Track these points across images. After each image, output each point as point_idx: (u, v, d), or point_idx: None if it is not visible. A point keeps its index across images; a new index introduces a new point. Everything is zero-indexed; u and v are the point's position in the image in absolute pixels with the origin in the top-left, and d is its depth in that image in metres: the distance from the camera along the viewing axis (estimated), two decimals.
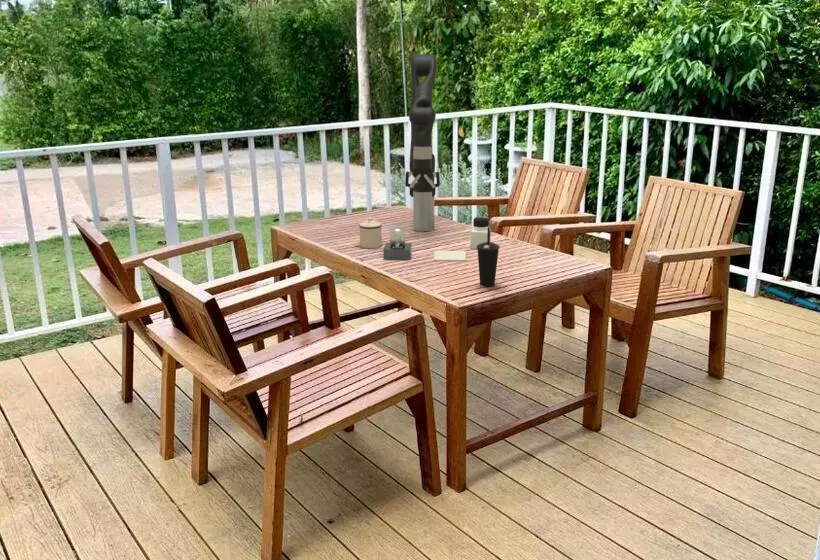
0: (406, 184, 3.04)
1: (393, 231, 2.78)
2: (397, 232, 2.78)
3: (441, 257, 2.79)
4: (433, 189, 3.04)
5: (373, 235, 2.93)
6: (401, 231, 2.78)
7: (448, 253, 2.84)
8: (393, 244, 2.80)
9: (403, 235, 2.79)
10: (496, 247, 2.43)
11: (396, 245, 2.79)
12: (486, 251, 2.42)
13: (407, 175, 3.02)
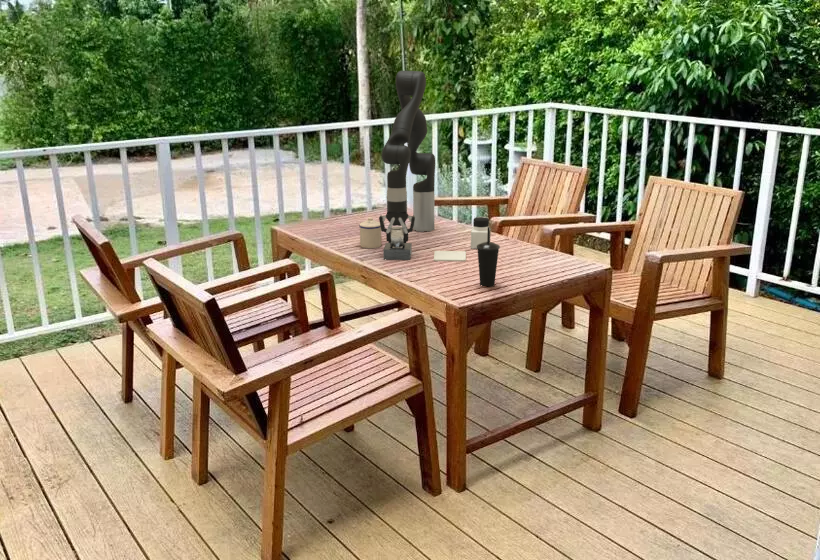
0: (382, 229, 2.79)
1: (393, 231, 2.78)
2: (397, 232, 2.78)
3: (441, 257, 2.79)
4: (405, 235, 2.79)
5: (373, 235, 2.93)
6: (401, 231, 2.78)
7: (448, 253, 2.84)
8: (393, 244, 2.80)
9: (403, 235, 2.79)
10: (496, 247, 2.43)
11: (396, 245, 2.79)
12: (486, 251, 2.42)
13: (381, 220, 2.78)
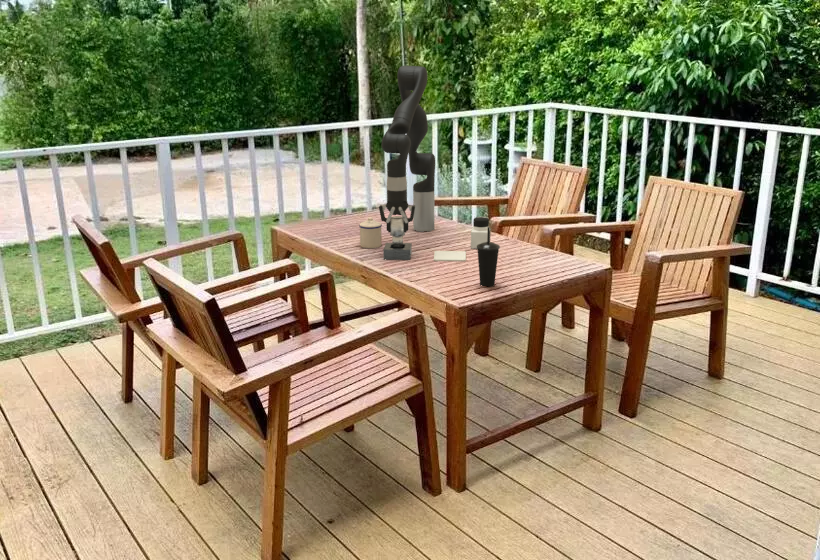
0: (382, 219, 2.78)
1: (393, 220, 2.77)
2: (397, 221, 2.77)
3: (441, 257, 2.79)
4: (406, 224, 2.79)
5: (373, 235, 2.93)
6: (401, 220, 2.77)
7: (448, 253, 2.84)
8: (393, 234, 2.79)
9: (403, 224, 2.78)
10: (496, 247, 2.43)
11: (396, 234, 2.78)
12: (486, 251, 2.42)
13: (381, 209, 2.77)
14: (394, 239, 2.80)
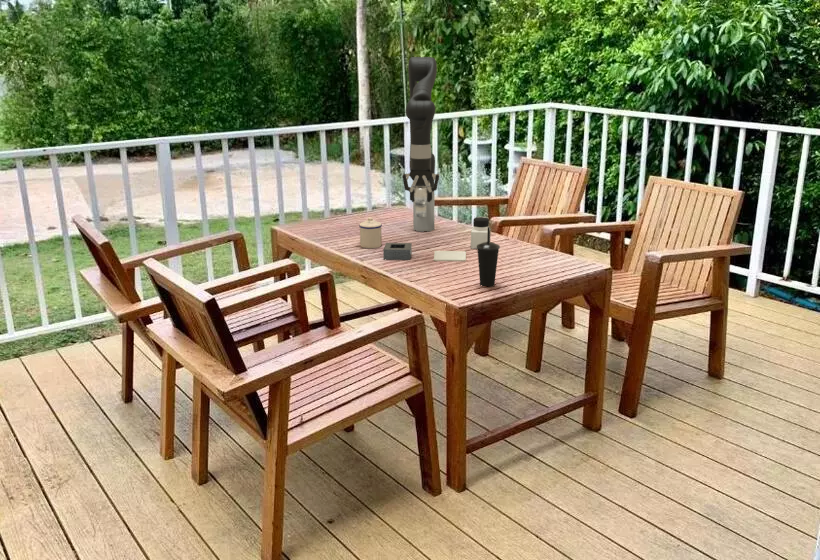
0: (406, 188, 2.74)
1: (416, 189, 2.72)
2: (420, 190, 2.72)
3: (441, 257, 2.79)
4: (429, 193, 2.74)
5: (373, 235, 2.93)
6: (425, 189, 2.73)
7: (448, 253, 2.84)
8: (416, 203, 2.74)
9: (427, 194, 2.74)
10: (496, 247, 2.43)
11: (419, 204, 2.74)
12: (486, 251, 2.42)
13: (404, 178, 2.73)
14: (417, 209, 2.76)
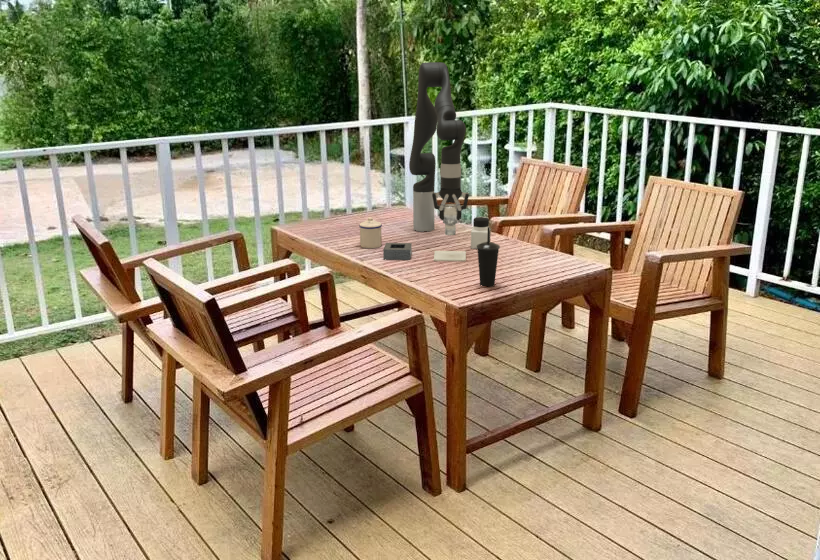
0: (435, 206, 2.75)
1: (446, 208, 2.74)
2: (451, 209, 2.74)
3: (441, 257, 2.79)
4: (459, 212, 2.75)
5: (373, 235, 2.93)
6: (455, 208, 2.74)
7: (448, 253, 2.84)
8: (446, 221, 2.75)
9: (456, 212, 2.75)
10: (496, 247, 2.43)
11: (449, 222, 2.75)
12: (486, 251, 2.42)
13: (434, 197, 2.74)
14: (447, 227, 2.77)
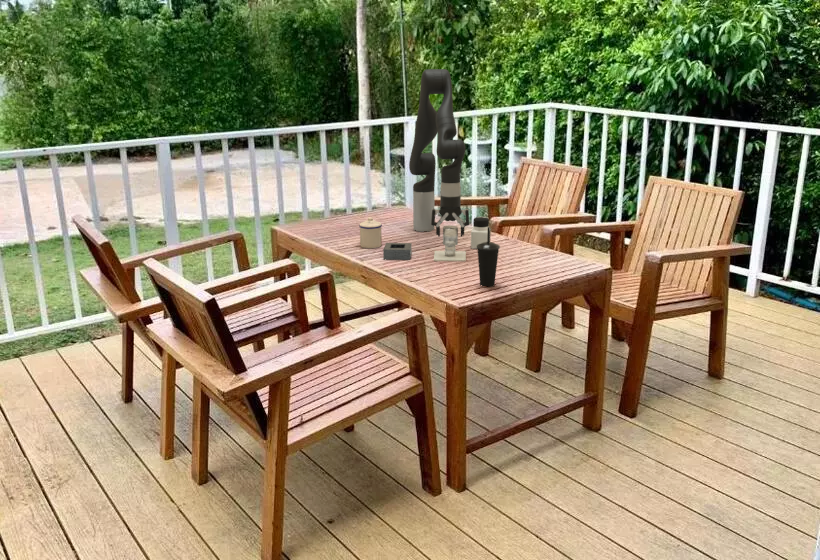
0: (432, 223, 2.77)
1: (446, 230, 2.76)
2: (451, 231, 2.76)
3: (441, 257, 2.79)
4: (462, 228, 2.77)
5: (373, 235, 2.93)
6: (454, 230, 2.76)
7: None
8: (446, 243, 2.78)
9: (456, 234, 2.78)
10: (496, 247, 2.43)
11: (449, 244, 2.78)
12: (486, 251, 2.42)
13: (433, 213, 2.76)
14: (447, 248, 2.79)
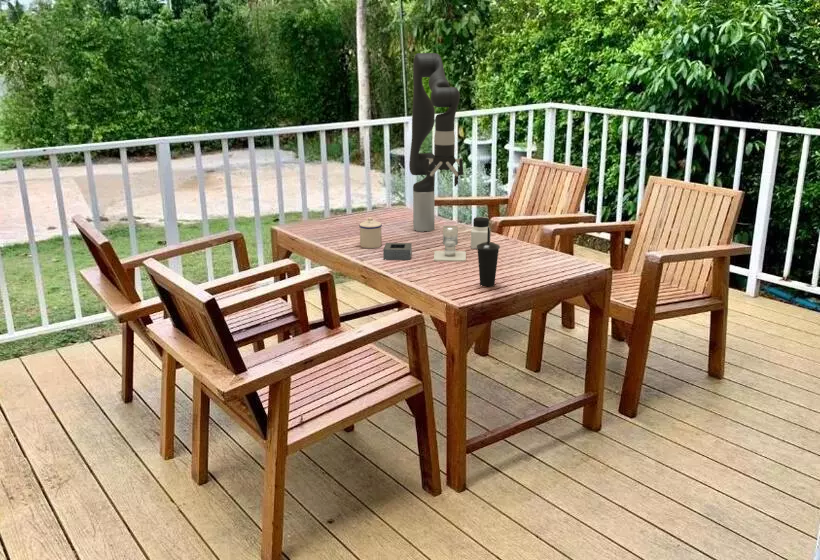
0: (426, 172, 2.77)
1: (446, 230, 2.77)
2: (450, 231, 2.76)
3: (441, 257, 2.79)
4: (456, 177, 2.77)
5: (373, 235, 2.93)
6: (454, 230, 2.77)
7: None
8: (446, 243, 2.78)
9: (456, 234, 2.78)
10: (496, 247, 2.43)
11: (449, 244, 2.78)
12: (486, 251, 2.42)
13: (427, 162, 2.75)
14: (447, 248, 2.80)
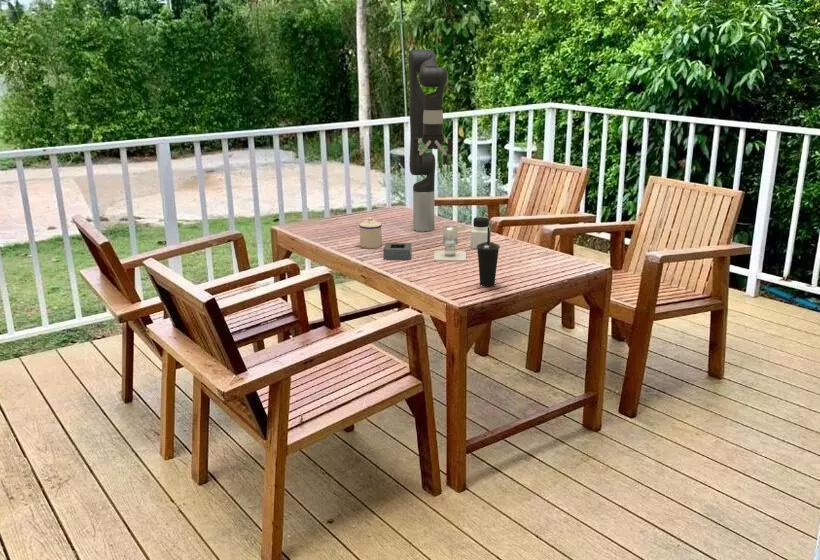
0: (415, 151, 2.82)
1: (446, 230, 2.76)
2: (450, 231, 2.76)
3: (441, 257, 2.79)
4: (444, 156, 2.82)
5: (373, 235, 2.93)
6: (454, 230, 2.77)
7: None
8: (446, 243, 2.78)
9: (456, 234, 2.78)
10: (496, 247, 2.43)
11: (449, 244, 2.78)
12: (486, 251, 2.42)
13: (416, 141, 2.81)
14: (447, 248, 2.79)
